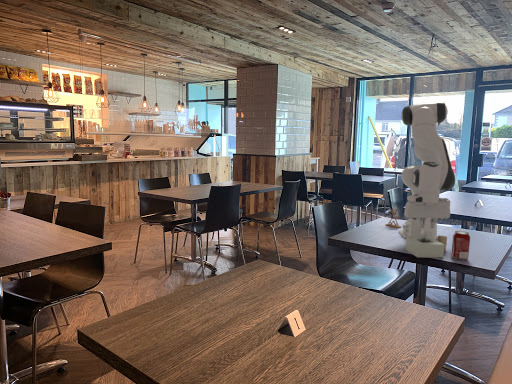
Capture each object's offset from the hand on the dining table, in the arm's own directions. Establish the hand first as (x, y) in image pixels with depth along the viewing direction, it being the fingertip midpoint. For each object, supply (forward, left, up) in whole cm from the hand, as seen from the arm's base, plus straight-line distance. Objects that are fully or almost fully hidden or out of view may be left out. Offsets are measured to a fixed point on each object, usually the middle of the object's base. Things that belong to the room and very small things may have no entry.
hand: (426, 227), depth 181 cm
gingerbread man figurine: (-57, +9, -13) cm, 59 cm away
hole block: (0, 0, -12) cm, 12 cm away
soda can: (+7, +13, -13) cm, 19 cm away
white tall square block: (0, 0, -8) cm, 8 cm away
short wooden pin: (-5, +11, -12) cm, 17 cm away
